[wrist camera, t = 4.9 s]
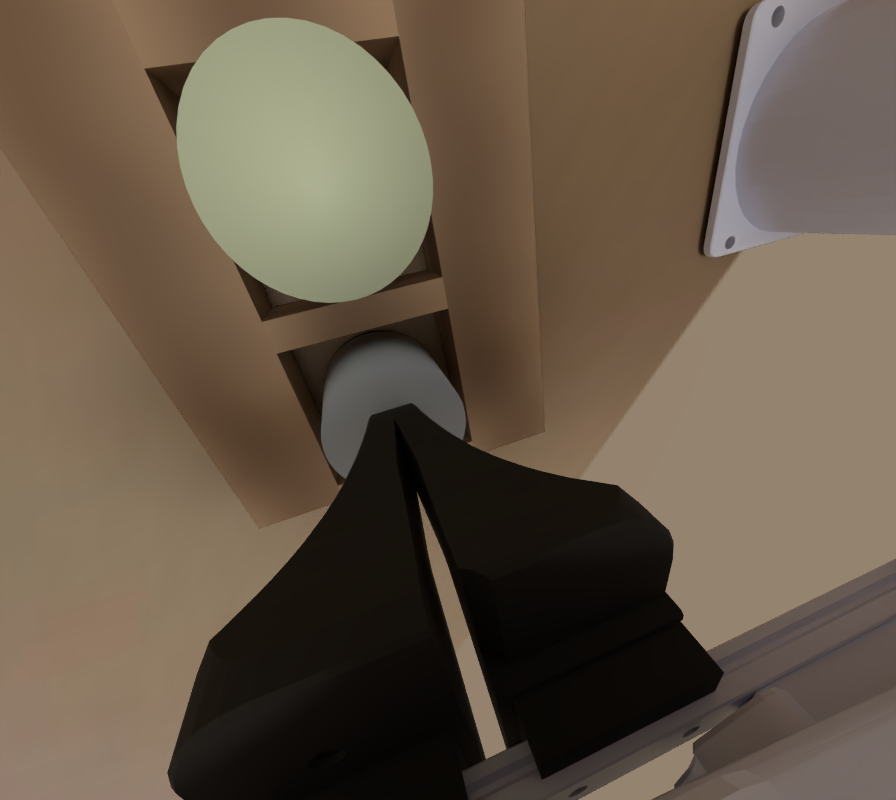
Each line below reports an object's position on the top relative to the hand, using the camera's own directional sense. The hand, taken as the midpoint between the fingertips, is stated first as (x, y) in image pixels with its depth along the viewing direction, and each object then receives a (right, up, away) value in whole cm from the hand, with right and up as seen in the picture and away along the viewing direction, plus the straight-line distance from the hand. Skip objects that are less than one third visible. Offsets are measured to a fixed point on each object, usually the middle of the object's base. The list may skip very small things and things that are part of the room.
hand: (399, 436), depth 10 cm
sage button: (-2, +7, -1) cm, 7 cm away
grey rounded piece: (-1, +2, +3) cm, 4 cm away
